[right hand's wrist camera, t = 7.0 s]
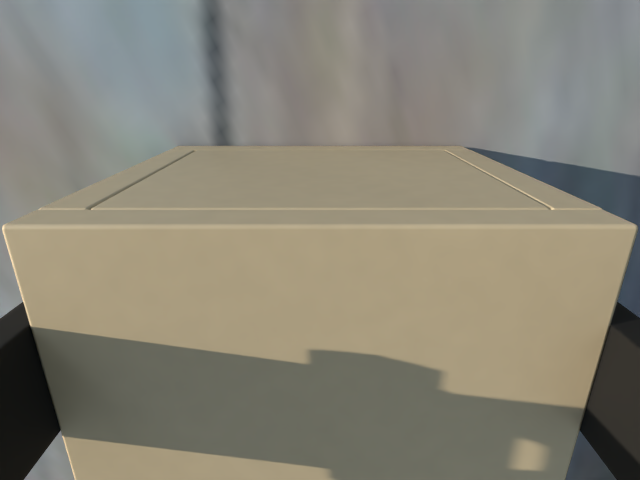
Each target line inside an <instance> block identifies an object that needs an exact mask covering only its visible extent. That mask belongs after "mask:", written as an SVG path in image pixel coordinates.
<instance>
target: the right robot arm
mask: <svg viewBox="0 0 640 480" xmlns="http://www.w3.org/2000/svg"><path fill="white" fill-rule="evenodd" d="M60 430H61V429H60V426H59V423H58V419H57V416H56V412H55V409H54V405H53V402H52V398H51V395H50V392H49V388H48V385H47V381H46V378H45V374H44V371H43V368H42V364H41V361H40V357H39V354H38V350H37V347H36V344H35V340H34V337H33V333H32V330H31V326H30V323H29V320H28V316H27V313H26V309H25V306H24V302H22V303H21V304H19V305H18V306H17V307H15V308H14V309H13V310H11V311H10V312H9V313H7V314H6V315H5V316H3V317H2V318H0V480H24V478H25V477H26V476H27V474H28V473H29V472H30V470H31V469H32V468H33V466H34V465H35V464H36V462H37V461H38V460H39V458H40V457H41V456H42V454H43V453H44V452H45V450H46V449H47V448H48V446H49V445H50V444H51V442H52V441H53V440H54V438H55V437H56V436H57V434H58V433H59V432H60ZM580 431H581V432H582V434H583V435H584V436H585V438H586V439H587V440H588V442H589V443H590V444H591V446H592V447H593V448H594V450H595V451H596V452H597V454H598V455H599V456H600V458H601V459H602V460H603V462H604V463H605V464H606V466H607V467H608V468H609V470H610V471H611V472H612V474H613V475H614V476H615V478H616V479H617V480H640V318H639V317H637V316H636V315H635V314H633V313H632V312H631V311H629V310H628V309H626V308H625V307H624V306H622V305H621V304H620V303H618V302H617V304H616V307H615V310H614V314H613V317H612V321H611V324H610V328H609V331H608V334H607V338H606V341H605V345H604V348H603V352H602V355H601V358H600V362H599V365H598V369H597V372H596V375H595V379H594V382H593V386H592V389H591V393H590V396H589V399H588V403H587V406H586V410H585V413H584V416H583V420H582V423H581V427H580Z"/></svg>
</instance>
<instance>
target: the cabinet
mask: <svg viewBox="0 0 640 480" xmlns="http://www.w3.org/2000/svg"><path fill="white" fill-rule="evenodd" d="M2 230H3V234H4V237H5V241H6V244H7V247H8V251H9V254H10V258H11V261H12V265H13V268H14V271H15V275H16V278H17V282H18V285H19V289H20V292H21V295H22V299H23V302H24V306H25V309H26V313H27V316H28V320H29V323H30V326H31V330H32V333H33V337H34V340H35V344H36V347H37V350H38V354H39V357H40V361H41V364H42V368H43V371H44V374H45V378H46V381H47V385H48V388H49V392H50V395H51V398H52V402H53V405H54V409H55V412H56V416H57V419H58V423H59V426H60V429H61V433H62V436H63V440H64V443H65V447H66V450H67V453H68V457H69V460H70V464H71V467H72V471H73V474H74V477H75V480H565V478H566V475H567V471H568V468H569V464H570V461H571V458H572V454H573V451H574V447H575V444H576V440H577V437H578V434H579V430H580V427H581V423H582V420H583V416H584V413H585V410H586V406H587V403H588V399H589V396H590V393H591V389H592V386H593V382H594V379H595V375H596V372H597V369H598V365H599V362H600V358H601V355H602V352H603V348H604V345H605V341H606V338H607V334H608V331H609V328H610V324H611V321H612V317H613V314H614V310H615V307H616V304H617V300H618V297H619V293H620V290H621V287H622V283H623V280H624V276H625V273H626V269H627V266H628V263H629V259H630V256H631V252H632V249H633V245H634V242H635V239H636V235H637V232H638V226H637V225H636V224H634V223H631V222H629V221H627V220H625V219H622V218H620V217H618V216H616V215H613V214H611V213H609V212H607V211H605V210H603V209H602V208H600V207H598V206H595V205H593V204H591V203H589V202H586V201H584V200H582V199H580V198H577V197H575V196H573V195H571V194H568V193H566V192H564V191H562V190H559V189H557V188H555V187H553V186H550V185H548V184H546V183H544V182H542V181H539V180H537V179H535V178H533V177H530V176H528V175H526V174H524V173H521V172H519V171H517V170H515V169H512V168H510V167H508V166H506V165H503V164H501V163H499V162H497V161H494V160H492V159H490V158H488V157H485V156H483V155H481V154H479V153H476V152H474V151H472V150H469V149H467V148H464V147H462V146H178V147H175V148H173V149H171V150H168V151H166V152H164V153H162V154H159V155H157V156H155V157H153V158H151V159H148V160H146V161H144V162H142V163H139V164H137V165H135V166H133V167H131V168H128V169H126V170H124V171H122V172H119V173H117V174H115V175H113V176H111V177H108V178H106V179H104V180H102V181H99V182H97V183H95V184H93V185H91V186H88V187H86V188H84V189H82V190H79V191H77V192H75V193H73V194H71V195H68V196H66V197H64V198H62V199H59V200H57V201H55V202H53V203H51V204H48V205H46V206H44V207H42V208H40V209H39V210H36V211H34V212H31V213H29V214H27V215H25V216H23V217H20V218H18V219H16V220H14V221H11V222H9V223H7V224H5V225H3V228H2Z"/></svg>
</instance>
